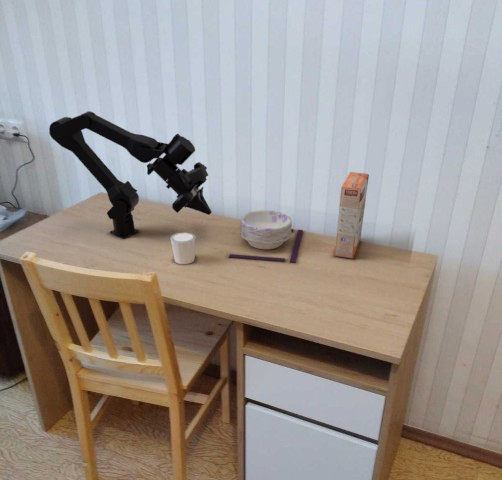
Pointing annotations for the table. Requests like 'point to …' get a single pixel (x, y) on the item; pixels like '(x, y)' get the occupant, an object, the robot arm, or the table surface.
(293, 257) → the frame
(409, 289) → the table surface
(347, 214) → the cracker box
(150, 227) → the table surface
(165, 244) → the table surface
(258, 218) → the paper bowls
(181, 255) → the shot glass
